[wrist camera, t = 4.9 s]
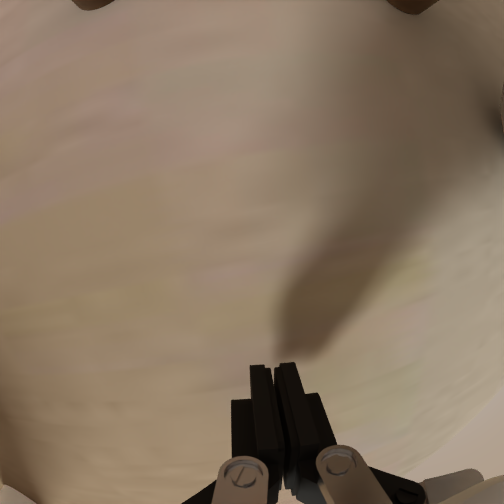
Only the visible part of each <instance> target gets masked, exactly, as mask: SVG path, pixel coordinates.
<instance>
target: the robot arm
mask: <svg viewBox="0 0 504 504" xmlns="http://www.w3.org/2000/svg"><path fill="white" fill-rule="evenodd" d="M250 386H251V399H240V400H231V434H232V458H231V459H229V460H227V461H226V462H225V463H224V464H223V465H222V466H221V467H220V470H219V472H218V477H217V480H215V481H214V482H213V483H211V484H210V485H208V486H207V487H206V488H204V489H203V490H201V491H200V492H198V493H197V494H195V495H194V496H192V497H191V498H189V499H188V500H186V501H185V502H183V503H182V504H276V503H277V502H278V493H279V490H281V486H282V477H283V479H284V485H285V489H291V493H292V496H294V495H296V499H297V500H299V501H300V502H302V503H304V504H504V475H501V476H497V477H493V478H490V479H488V480H485V481H484V478H483V476H482V474H481V473H480V472H479V471H477V470H475V469H465V470H462V471H458V472H455V473H451V474H447V475H443V476H439V477H434V478H430V479H425V480H424V481H423V482H420V483H416V482H414V481H411V480H408V479H405V478H401V477H398V476H395V475H392V474H389V473H386V472H383V471H380V470H378V469H375V468H372V467H369V466H368V465H367V464H366V462H365V461H364V459H363V458H362V456H361V455H360V454H359V452H358V451H357V450H355V449H354V448H352V447H349V446H346V445H337V442H336V439H335V437H334V434H333V431H332V429H331V426H330V423H329V420H328V418H327V415H326V412H325V410H324V407H323V404H322V401H321V399H320V396H319V394H318V393H310V394H305V393H304V389H303V386H302V383H301V380H300V377H299V374H298V370H297V367H296V364H295V362H290V363H280V365H279V367H275V368H274V384H273V379H272V374H271V369H270V368H265V365H250Z"/></svg>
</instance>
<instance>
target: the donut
mask: <svg viewBox="0 0 504 504" xmlns="http://www.w3.org/2000/svg"><path fill="white" fill-rule="evenodd" d="M500 113H501V119H502V126H503V133H504V85H503V91H502V97H501V103H500Z"/></svg>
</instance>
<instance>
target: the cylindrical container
mask: <svg viewBox="0 0 504 504" xmlns="http://www.w3.org/2000/svg"><path fill="white" fill-rule="evenodd" d="M0 504H36V503H35V502H34V501H32V500H31V499H29V498H28V497H26V496H25V495H23V494H22V493H20V492H19V491H17V490H15V489H14V488H12V487H10V486H8V485H5V484H4V485H3V487H2V489H1V491H0Z"/></svg>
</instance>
